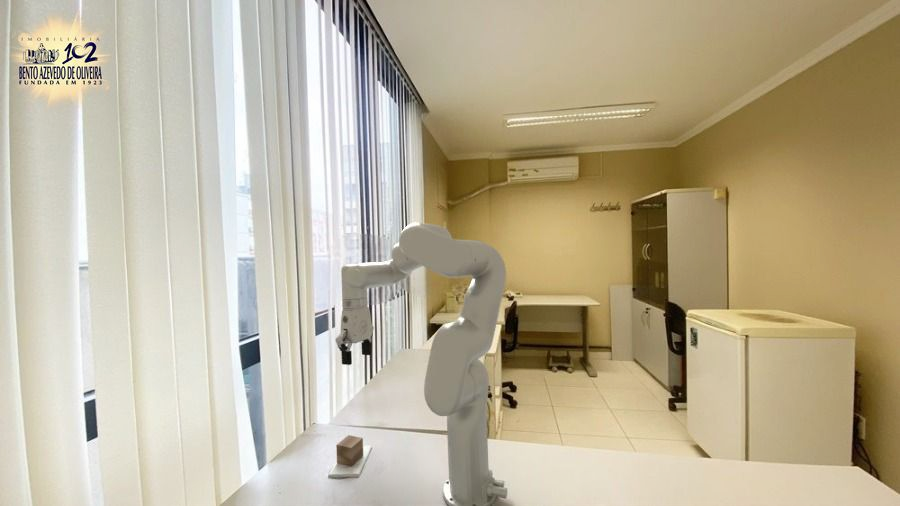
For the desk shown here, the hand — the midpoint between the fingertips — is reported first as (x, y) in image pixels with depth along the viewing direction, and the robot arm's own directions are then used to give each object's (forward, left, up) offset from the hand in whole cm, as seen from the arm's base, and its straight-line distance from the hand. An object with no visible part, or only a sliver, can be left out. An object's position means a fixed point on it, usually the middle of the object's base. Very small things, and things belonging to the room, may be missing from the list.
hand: (357, 359), depth 98 cm
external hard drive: (-3, +8, -27) cm, 28 cm away
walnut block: (-3, +8, -25) cm, 27 cm away
